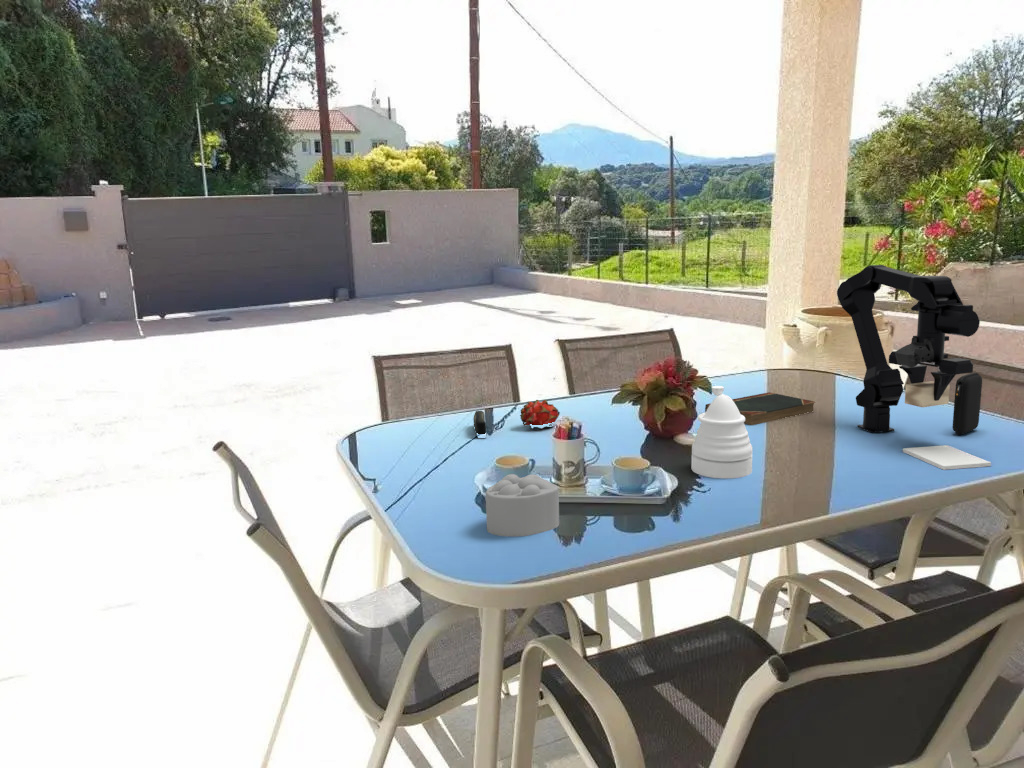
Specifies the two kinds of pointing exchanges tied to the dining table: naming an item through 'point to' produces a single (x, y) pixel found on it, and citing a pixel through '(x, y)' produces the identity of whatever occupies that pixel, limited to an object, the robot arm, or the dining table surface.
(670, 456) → the dining table surface
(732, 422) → the honey pot
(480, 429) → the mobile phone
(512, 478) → the lumpy-topped squat cylinder
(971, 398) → the carrying case or bag
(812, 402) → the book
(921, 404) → the tan rectangular block
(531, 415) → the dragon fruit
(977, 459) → the mat
